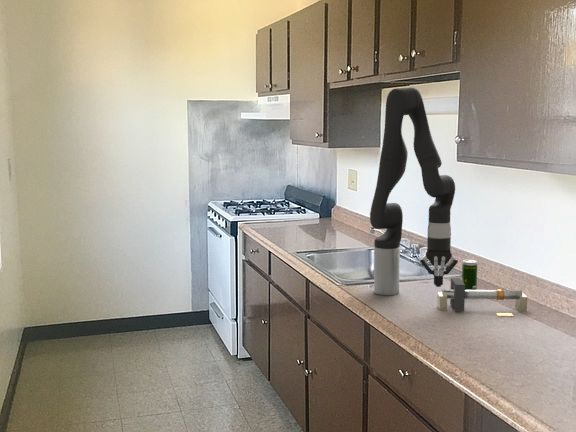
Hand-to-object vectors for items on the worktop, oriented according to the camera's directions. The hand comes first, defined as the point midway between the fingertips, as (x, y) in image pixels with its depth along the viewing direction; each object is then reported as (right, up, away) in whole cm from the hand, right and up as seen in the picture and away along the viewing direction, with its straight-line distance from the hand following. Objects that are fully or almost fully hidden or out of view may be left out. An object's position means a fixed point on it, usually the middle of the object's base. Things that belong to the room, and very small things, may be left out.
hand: (438, 286), depth 217 cm
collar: (+7, -8, +1) cm, 10 cm away
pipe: (+14, -8, -3) cm, 17 cm away
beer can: (+16, -5, +20) cm, 26 cm away
